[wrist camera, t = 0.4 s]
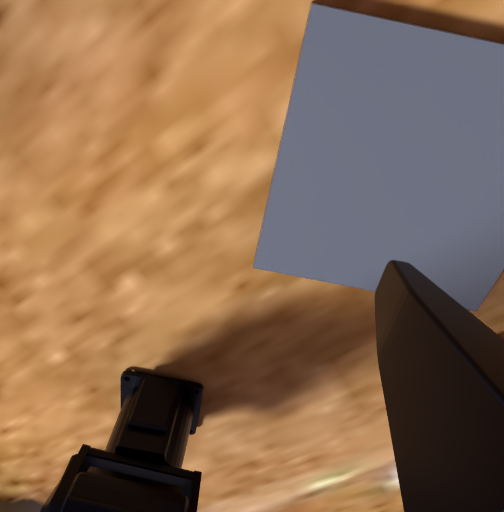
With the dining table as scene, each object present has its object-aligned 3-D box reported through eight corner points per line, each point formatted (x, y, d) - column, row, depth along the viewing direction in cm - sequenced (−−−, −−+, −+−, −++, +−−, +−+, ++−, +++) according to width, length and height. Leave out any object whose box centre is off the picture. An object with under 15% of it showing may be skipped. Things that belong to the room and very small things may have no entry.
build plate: (471, 300, 27) (476, 311, 26) (254, 258, 27) (253, 267, 26) (618, 67, 19) (632, 72, 18) (311, 1, 19) (312, 3, 18)
